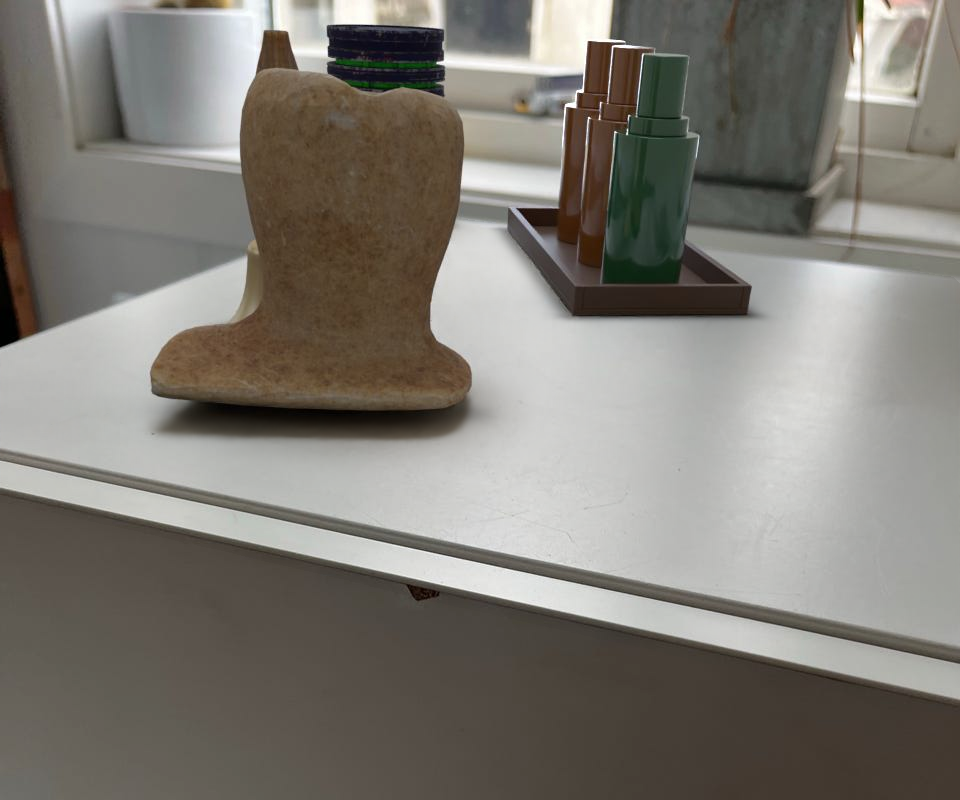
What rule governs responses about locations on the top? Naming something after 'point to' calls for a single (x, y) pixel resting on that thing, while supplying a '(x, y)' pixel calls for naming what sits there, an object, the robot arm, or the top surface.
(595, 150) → the amber bottle
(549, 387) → the top surface
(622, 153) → the green bottle
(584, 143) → the amber bottle
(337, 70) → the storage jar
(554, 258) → the tray
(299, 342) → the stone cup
